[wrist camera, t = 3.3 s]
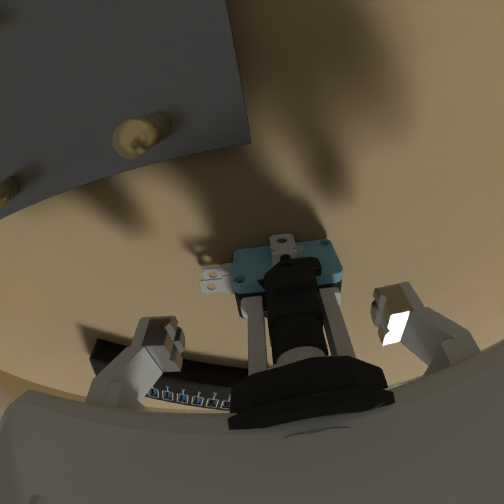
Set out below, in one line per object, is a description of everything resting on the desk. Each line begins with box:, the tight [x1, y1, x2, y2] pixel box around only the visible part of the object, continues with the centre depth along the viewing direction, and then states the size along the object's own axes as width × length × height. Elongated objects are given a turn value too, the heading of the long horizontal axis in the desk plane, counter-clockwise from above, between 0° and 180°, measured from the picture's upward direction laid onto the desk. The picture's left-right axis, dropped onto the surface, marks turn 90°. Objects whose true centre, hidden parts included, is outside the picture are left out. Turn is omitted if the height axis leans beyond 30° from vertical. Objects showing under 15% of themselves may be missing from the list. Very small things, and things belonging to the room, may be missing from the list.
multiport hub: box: [89, 339, 248, 411], centre depth 19 cm, size 4×14×2 cm, turn 76°
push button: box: [199, 233, 395, 439], centre depth 10 cm, size 7×5×10 cm
